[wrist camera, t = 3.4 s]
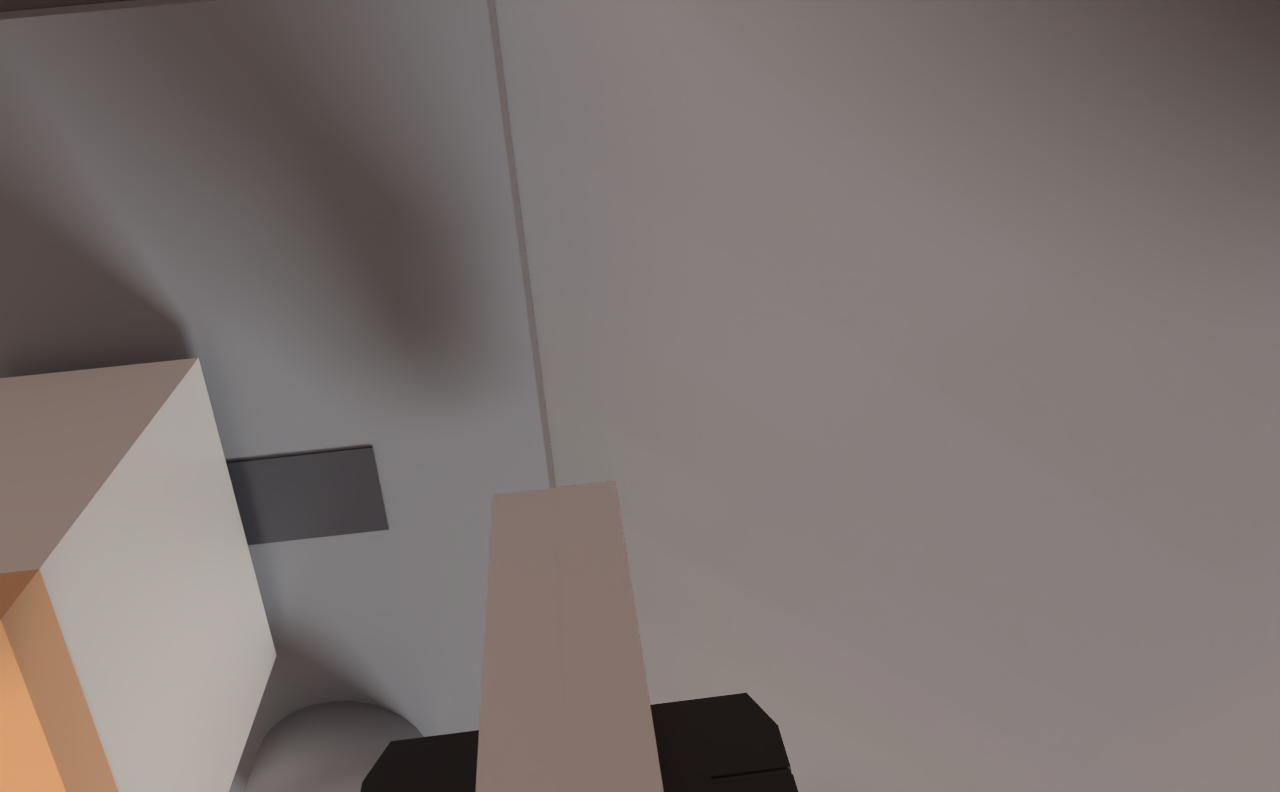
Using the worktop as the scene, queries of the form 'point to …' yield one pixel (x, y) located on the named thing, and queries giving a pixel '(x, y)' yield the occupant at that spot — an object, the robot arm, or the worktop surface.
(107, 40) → the console
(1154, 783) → the worktop surface
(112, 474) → the fader
